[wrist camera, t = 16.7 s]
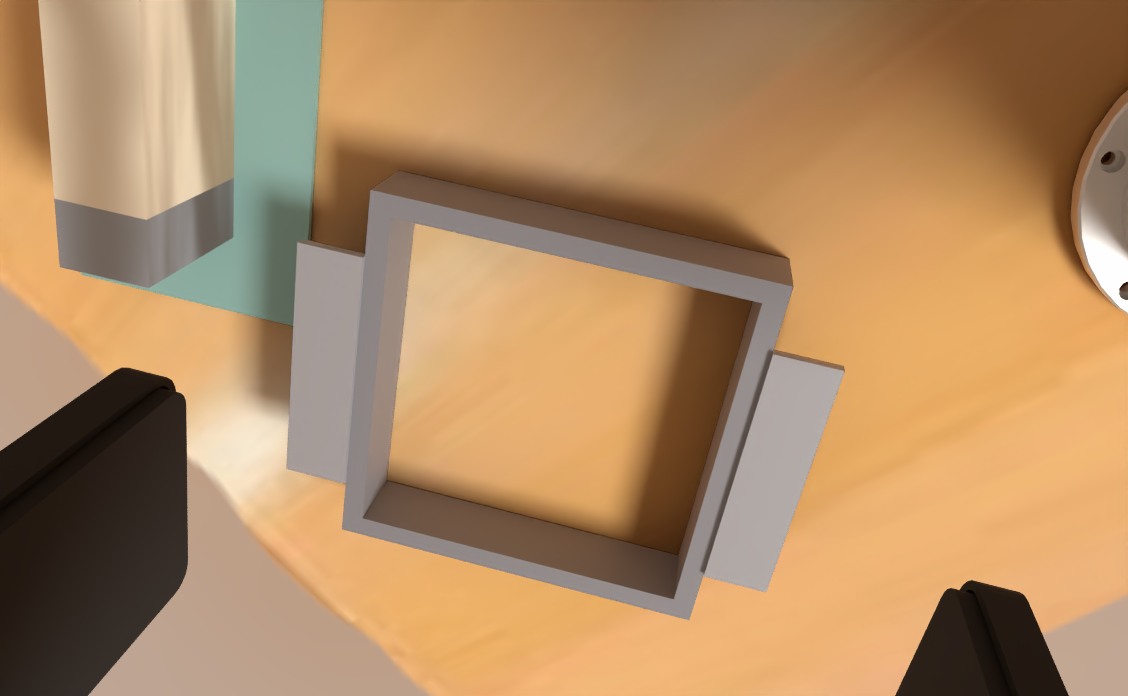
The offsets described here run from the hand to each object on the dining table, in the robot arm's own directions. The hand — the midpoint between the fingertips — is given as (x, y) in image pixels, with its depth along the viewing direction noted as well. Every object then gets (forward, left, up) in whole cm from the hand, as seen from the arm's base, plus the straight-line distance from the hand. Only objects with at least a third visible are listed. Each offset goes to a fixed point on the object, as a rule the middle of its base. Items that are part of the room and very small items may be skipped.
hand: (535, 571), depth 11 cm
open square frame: (+3, +14, -30) cm, 34 cm away
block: (+22, +4, -30) cm, 37 cm away
